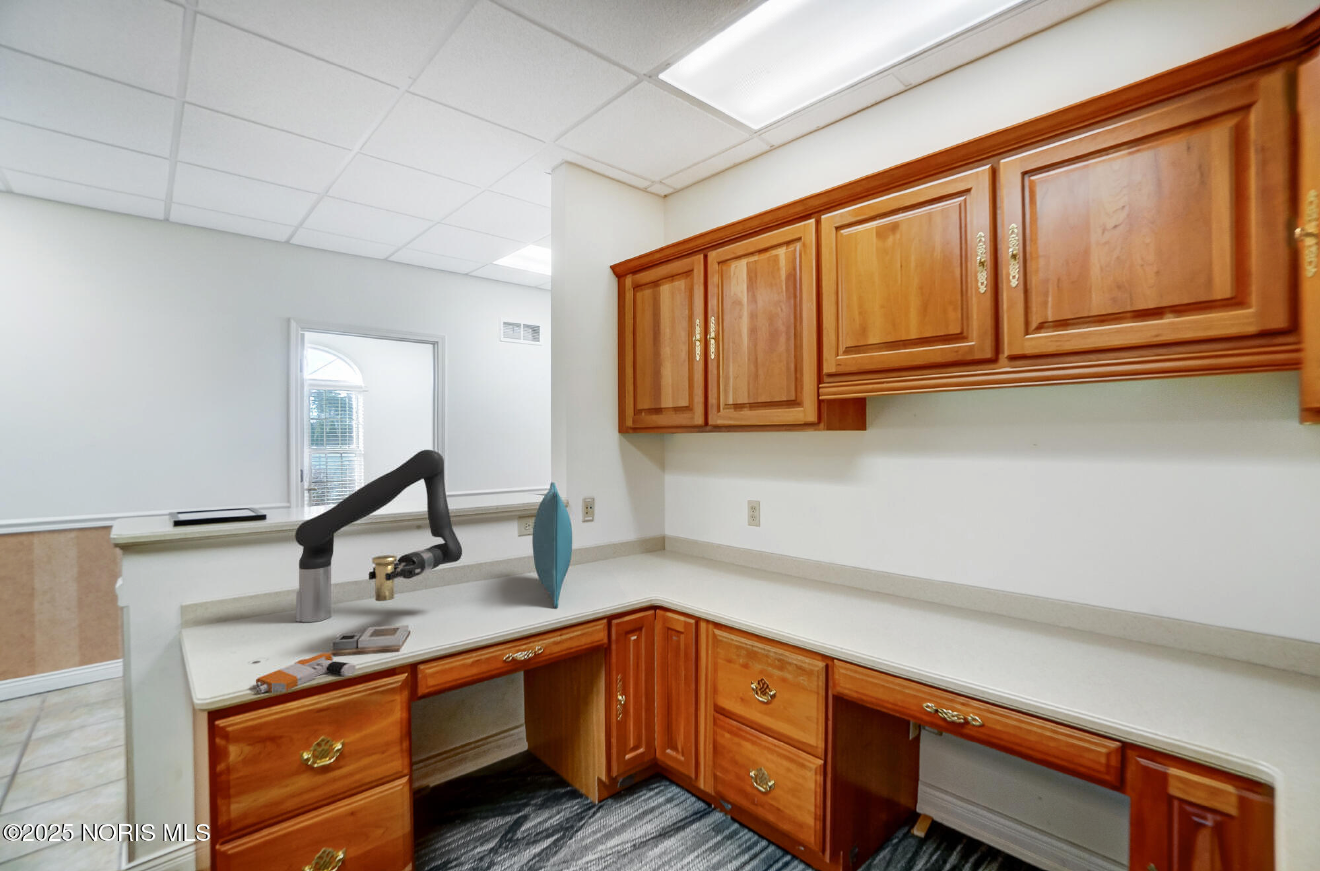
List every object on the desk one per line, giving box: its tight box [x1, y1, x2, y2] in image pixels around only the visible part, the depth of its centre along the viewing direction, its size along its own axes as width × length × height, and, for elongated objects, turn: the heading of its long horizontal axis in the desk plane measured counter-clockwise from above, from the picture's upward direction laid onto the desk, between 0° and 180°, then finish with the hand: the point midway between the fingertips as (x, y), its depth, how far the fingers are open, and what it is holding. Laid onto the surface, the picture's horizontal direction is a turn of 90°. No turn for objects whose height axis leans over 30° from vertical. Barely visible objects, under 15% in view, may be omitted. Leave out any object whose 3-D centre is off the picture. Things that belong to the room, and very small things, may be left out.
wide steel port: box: [358, 624, 410, 649], centre depth 168 cm, size 11×11×2 cm
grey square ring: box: [331, 632, 364, 651], centre depth 164 cm, size 6×6×2 cm
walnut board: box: [328, 630, 411, 657], centre depth 168 cm, size 18×15×1 cm
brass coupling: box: [371, 554, 398, 602], centre depth 169 cm, size 6×6×12 cm
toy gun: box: [255, 652, 356, 694], centre depth 144 cm, size 3×19×15 cm
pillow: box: [531, 481, 573, 609], centre depth 224 cm, size 43×15×42 cm, turn 12°
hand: (378, 576), depth 166 cm, fingers closed on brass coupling, 5 cm apart
